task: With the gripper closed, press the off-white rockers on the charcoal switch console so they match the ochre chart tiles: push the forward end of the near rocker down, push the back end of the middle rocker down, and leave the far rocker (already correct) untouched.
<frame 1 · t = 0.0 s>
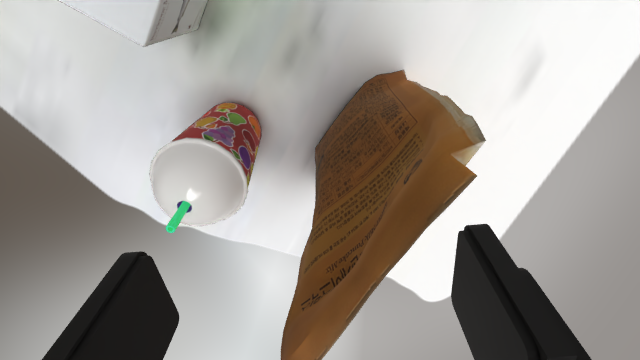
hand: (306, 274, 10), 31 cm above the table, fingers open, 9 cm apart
pancake mix bag: (350, 121, 41), on the table
smoothie: (235, 125, 41), on the table
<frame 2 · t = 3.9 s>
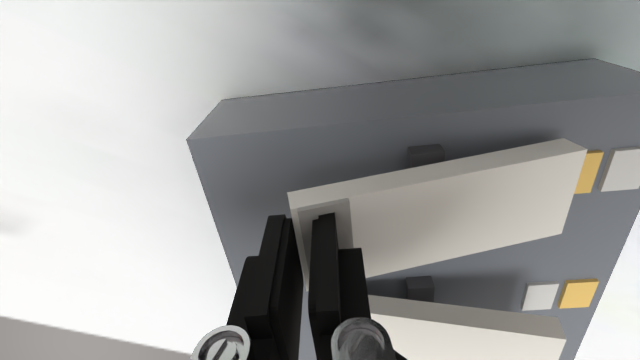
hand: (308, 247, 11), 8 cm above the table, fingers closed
console: (399, 237, 22), on the table
rocker A: (436, 216, 12), point 7 cm above the table, hinge at -11.7°, touching gripper
rocker B: (427, 339, 16), point 7 cm above the table, hinge at 13.0°
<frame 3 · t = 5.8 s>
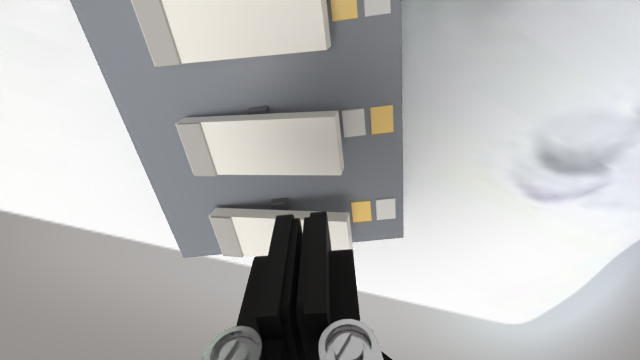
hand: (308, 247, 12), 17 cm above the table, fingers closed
console: (274, 108, 27), on the table
rocker C: (280, 235, 24), point 7 cm above the table, hinge at 13.0°
rocker A: (228, 20, 17), point 7 cm above the table, hinge at 13.5°
rocker B: (258, 146, 21), point 7 cm above the table, hinge at 13.0°
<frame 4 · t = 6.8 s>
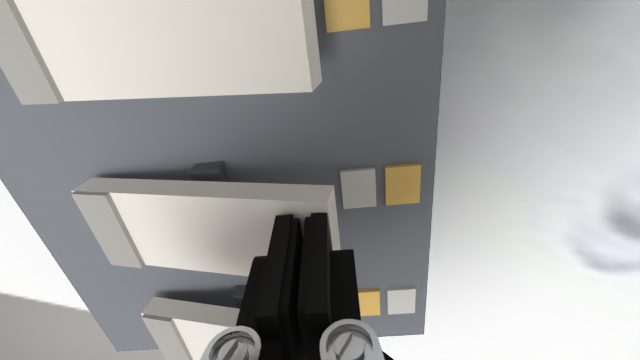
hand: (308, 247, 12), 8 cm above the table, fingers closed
console: (245, 149, 19), on the table
rocker C: (246, 344, 16), point 7 cm above the table, hinge at 13.0°
rocker A: (133, 29, 9), point 7 cm above the table, hinge at 13.9°
rocker B: (205, 230, 13), point 7 cm above the table, hinge at 13.0°, touching gripper
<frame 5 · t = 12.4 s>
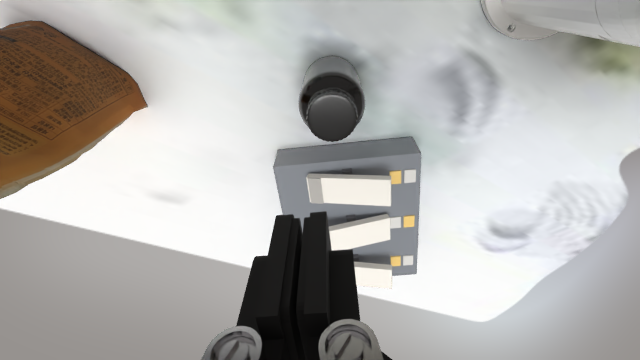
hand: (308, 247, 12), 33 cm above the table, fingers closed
supplement bottle: (330, 83, 42), on the table
console: (349, 204, 50), on the table
pancake mix bag: (85, 60, 41), on the table
rocker C: (355, 274, 48), point 7 cm above the table, hinge at 13.0°
rocker A: (348, 190, 41), point 7 cm above the table, hinge at 13.9°
rocker B: (352, 235, 44), point 7 cm above the table, hinge at -12.5°
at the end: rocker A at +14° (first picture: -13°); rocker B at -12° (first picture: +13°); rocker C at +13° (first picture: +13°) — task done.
